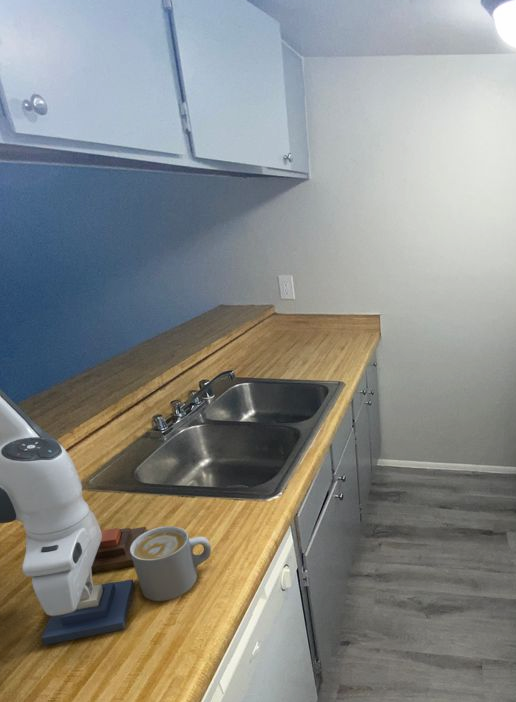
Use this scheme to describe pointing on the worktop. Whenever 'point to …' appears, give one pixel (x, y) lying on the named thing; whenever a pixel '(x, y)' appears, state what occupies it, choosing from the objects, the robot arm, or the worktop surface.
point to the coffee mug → (167, 561)
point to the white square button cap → (91, 598)
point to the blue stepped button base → (93, 615)
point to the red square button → (110, 537)
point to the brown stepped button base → (117, 552)
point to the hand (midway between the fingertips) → (86, 593)
